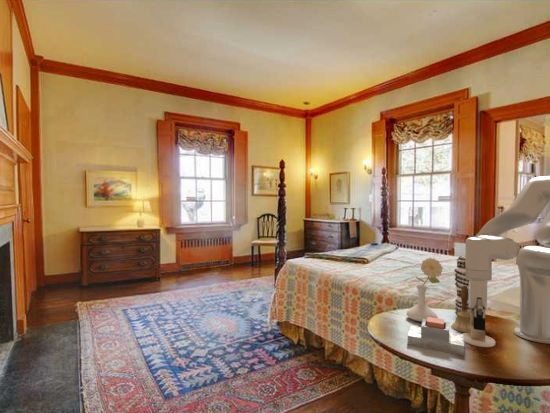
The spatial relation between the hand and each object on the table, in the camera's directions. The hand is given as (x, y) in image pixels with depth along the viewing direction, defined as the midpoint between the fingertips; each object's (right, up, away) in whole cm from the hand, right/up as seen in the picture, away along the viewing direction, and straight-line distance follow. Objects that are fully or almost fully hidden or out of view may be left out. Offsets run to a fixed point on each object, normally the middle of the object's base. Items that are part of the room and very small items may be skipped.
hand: (478, 324), depth 110 cm
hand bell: (+1, -6, +11) cm, 12 cm away
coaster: (0, -5, 0) cm, 5 cm away
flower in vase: (-9, -6, +20) cm, 22 cm away
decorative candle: (+9, -6, +22) cm, 24 cm away
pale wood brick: (0, -5, 0) cm, 5 cm away
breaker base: (-16, -5, -3) cm, 17 cm away
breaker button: (-16, -2, -3) cm, 16 cm away
